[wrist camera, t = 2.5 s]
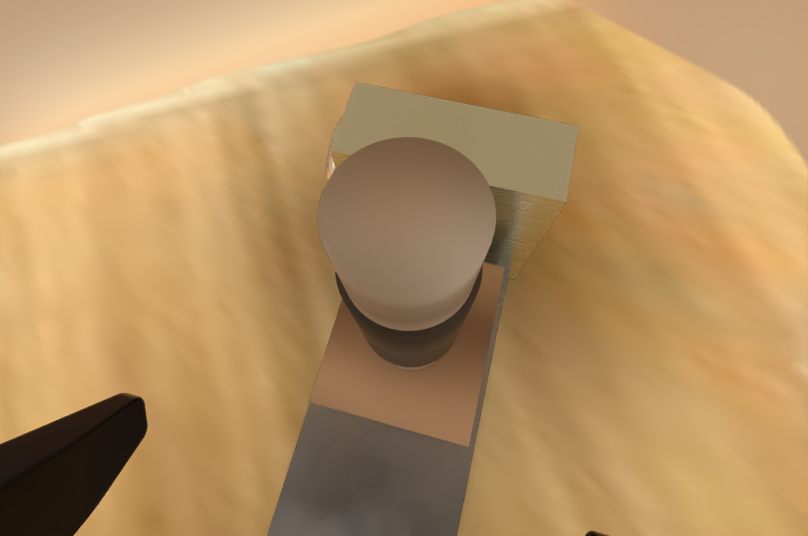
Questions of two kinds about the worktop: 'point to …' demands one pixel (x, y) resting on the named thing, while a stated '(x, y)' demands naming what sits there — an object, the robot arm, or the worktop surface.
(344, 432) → the rail
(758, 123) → the worktop surface
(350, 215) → the carriage
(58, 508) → the robot arm
